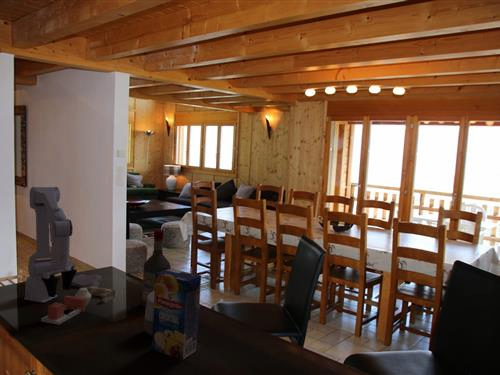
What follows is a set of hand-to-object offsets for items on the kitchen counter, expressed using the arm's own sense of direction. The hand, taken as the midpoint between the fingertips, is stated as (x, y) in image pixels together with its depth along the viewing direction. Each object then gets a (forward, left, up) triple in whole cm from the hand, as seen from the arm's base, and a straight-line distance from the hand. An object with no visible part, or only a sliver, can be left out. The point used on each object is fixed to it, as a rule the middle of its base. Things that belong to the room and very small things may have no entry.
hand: (59, 293), depth 149 cm
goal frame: (-1, +23, -9) cm, 25 cm away
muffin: (-1, +14, -10) cm, 17 cm away
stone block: (-14, +35, -10) cm, 39 cm away
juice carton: (+46, -6, -10) cm, 48 cm away
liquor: (+24, +25, -10) cm, 36 cm away
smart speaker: (+36, +3, -10) cm, 38 cm away
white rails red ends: (-1, +3, -9) cm, 10 cm away
